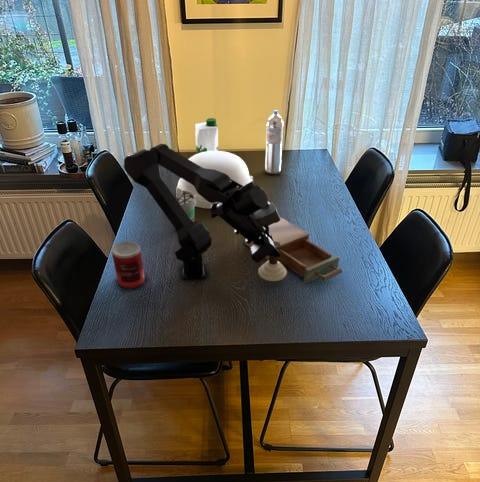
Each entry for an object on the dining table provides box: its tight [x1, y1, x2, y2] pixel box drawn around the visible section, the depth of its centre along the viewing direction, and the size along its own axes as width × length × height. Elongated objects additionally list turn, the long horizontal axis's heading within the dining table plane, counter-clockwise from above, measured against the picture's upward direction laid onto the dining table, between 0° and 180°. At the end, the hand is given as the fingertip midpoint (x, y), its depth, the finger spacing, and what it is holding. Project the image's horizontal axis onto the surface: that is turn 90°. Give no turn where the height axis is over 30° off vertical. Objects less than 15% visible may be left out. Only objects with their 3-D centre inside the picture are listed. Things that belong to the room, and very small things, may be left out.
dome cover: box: [175, 150, 254, 210], centre depth 174 cm, size 32×30×14 cm
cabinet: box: [243, 215, 310, 263], centre depth 144 cm, size 16×14×6 cm
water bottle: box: [264, 109, 285, 176], centre depth 186 cm, size 7×7×25 cm
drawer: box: [278, 238, 343, 284], centre depth 134 cm, size 19×12×4 cm, turn 36°
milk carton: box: [194, 117, 219, 154], centre depth 190 cm, size 9×9×20 cm
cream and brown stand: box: [257, 242, 288, 282], centre depth 124 cm, size 8×8×9 cm
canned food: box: [111, 241, 146, 289], centre depth 127 cm, size 8×8×11 cm
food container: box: [176, 191, 196, 222], centre depth 153 cm, size 12×6×10 cm, turn 168°
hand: (278, 252), depth 123 cm, fingers closed on cream and brown stand, 3 cm apart
